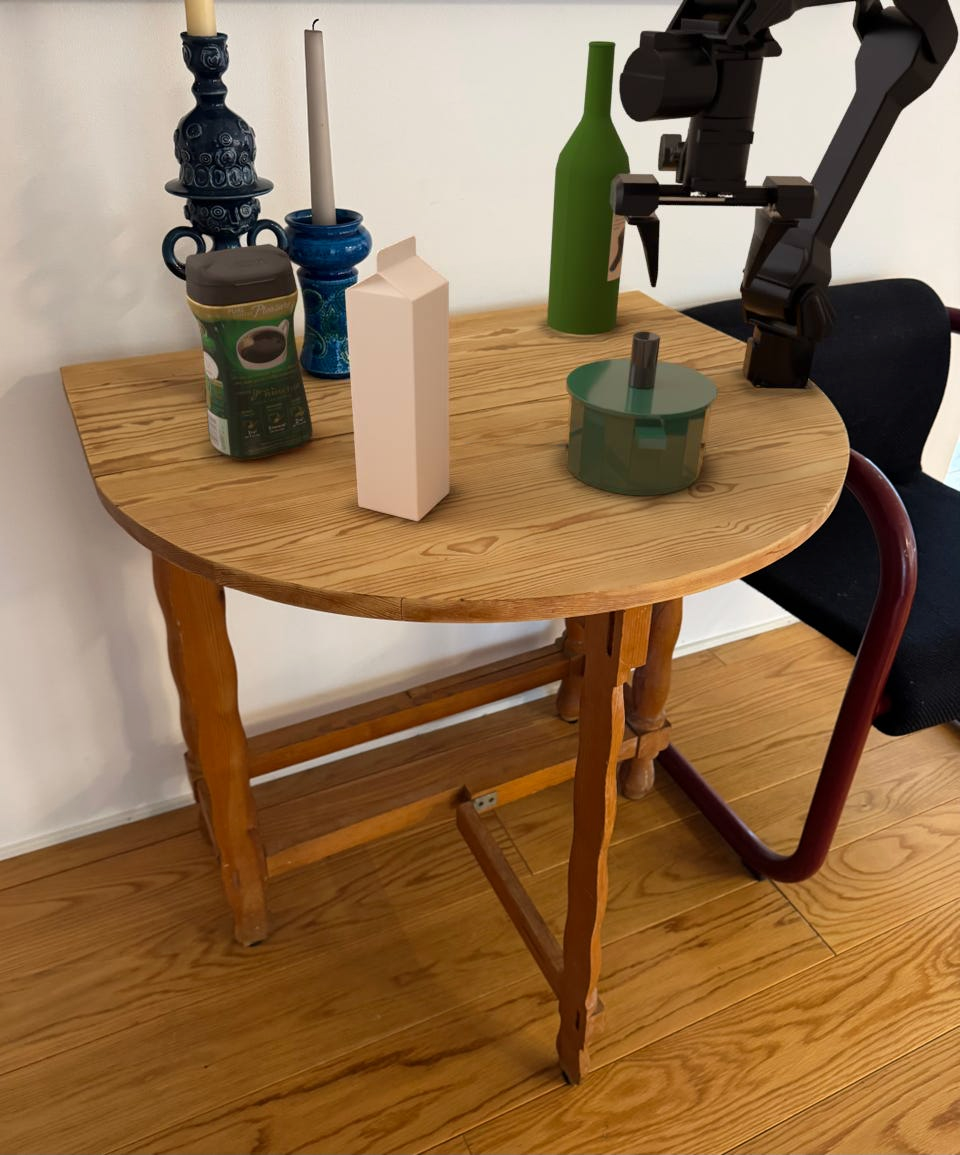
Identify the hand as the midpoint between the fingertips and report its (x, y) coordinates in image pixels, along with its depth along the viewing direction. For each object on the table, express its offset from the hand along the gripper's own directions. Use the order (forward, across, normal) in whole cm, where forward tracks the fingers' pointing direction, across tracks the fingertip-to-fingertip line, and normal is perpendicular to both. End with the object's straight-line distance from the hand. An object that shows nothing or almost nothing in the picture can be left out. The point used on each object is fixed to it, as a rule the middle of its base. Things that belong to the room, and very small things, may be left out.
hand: (699, 287), depth 95 cm
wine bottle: (+13, +9, -26) cm, 31 cm away
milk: (+13, +28, +22) cm, 38 cm away
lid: (+5, +7, +14) cm, 16 cm away
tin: (+13, +7, +14) cm, 20 cm away
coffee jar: (+13, +43, +11) cm, 46 cm away
